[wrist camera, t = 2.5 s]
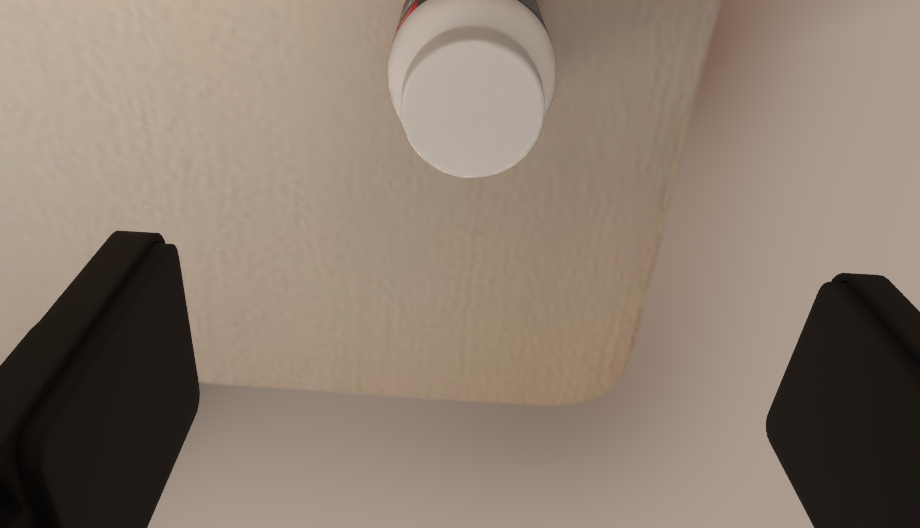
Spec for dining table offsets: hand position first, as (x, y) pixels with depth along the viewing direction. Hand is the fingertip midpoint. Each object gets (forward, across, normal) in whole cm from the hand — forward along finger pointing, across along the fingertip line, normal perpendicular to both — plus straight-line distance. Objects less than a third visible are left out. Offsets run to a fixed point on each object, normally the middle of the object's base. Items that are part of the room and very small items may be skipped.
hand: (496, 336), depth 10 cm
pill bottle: (+19, 0, 0) cm, 19 cm away
